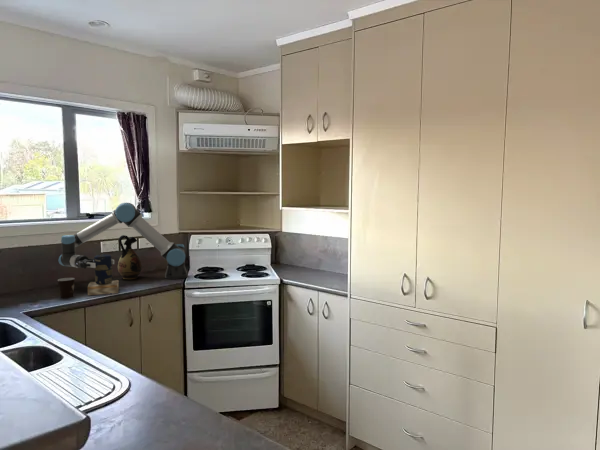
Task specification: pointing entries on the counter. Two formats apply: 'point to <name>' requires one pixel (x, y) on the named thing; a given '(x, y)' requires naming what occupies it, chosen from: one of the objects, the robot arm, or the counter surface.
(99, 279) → the canister
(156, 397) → the counter surface
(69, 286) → the coffee mug
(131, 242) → the ceramic jug
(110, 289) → the dock
